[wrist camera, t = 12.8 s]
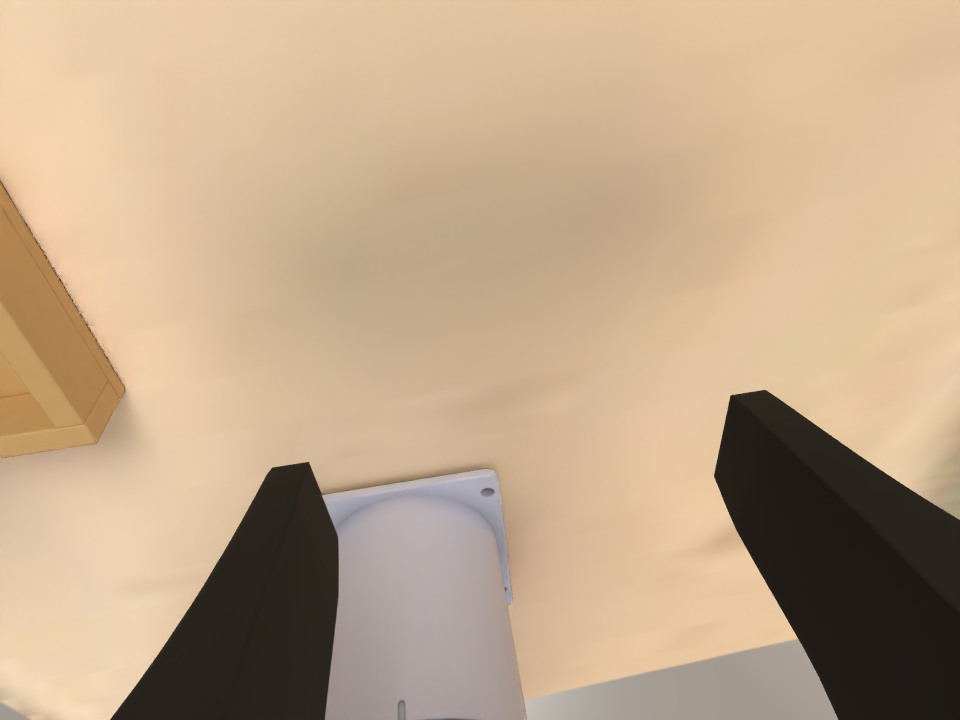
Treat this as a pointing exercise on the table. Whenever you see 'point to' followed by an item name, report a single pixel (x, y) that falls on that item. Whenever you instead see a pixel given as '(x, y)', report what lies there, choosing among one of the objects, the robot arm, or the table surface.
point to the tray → (45, 353)
